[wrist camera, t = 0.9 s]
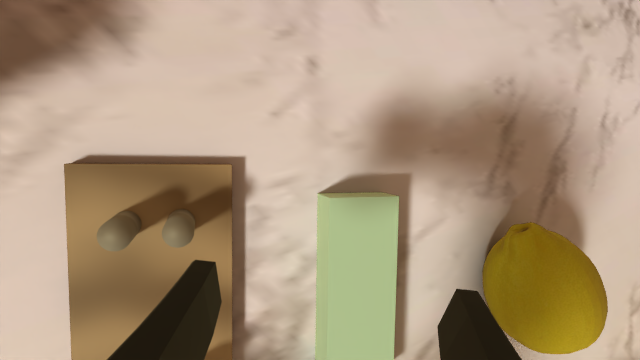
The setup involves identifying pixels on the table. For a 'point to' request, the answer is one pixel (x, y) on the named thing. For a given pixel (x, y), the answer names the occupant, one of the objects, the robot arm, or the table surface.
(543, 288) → the lemon
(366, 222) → the shelf board
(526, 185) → the table surface
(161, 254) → the peg base
